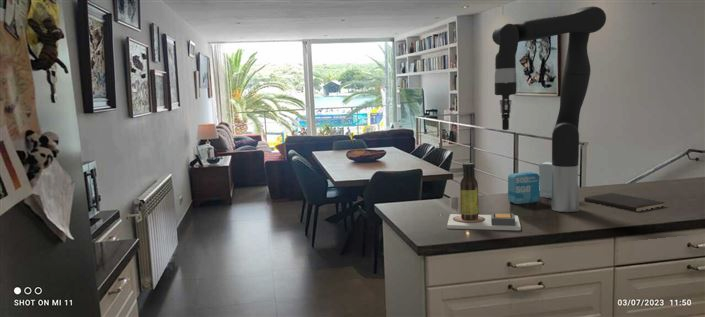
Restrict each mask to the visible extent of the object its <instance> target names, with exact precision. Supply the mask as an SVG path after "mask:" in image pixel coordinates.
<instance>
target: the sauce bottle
mask: <svg viewBox="0 0 705 317" xmlns="http://www.w3.org/2000/svg"><path fill="white" fill-rule="evenodd" d="M462 170H463V171H462V172H463V174H462V176H463V177H462V179H461V180H460V183H459V188H460V189H459V196H460V197H459V199H460V214H461V218H462V219H463V220H475V219H477V218H478V215H479V212H480V211H479V208H480V207H479V184H478V181H477V179H476V177H475V163H474V162H463V163H462Z"/></svg>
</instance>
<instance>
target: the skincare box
mask: <svg viewBox="0 0 705 317" xmlns="http://www.w3.org/2000/svg"><path fill="white" fill-rule="evenodd" d="M538 172H539V173H538V175H539V198H546V199H552V161H550V162H549V161H545V162H541V163H538Z"/></svg>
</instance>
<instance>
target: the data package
mask: <svg viewBox="0 0 705 317" xmlns="http://www.w3.org/2000/svg"><path fill="white" fill-rule="evenodd" d="M507 200H508V202H509V203H512V204H514V205H521V204H529V203H530V204H531V203H537V202H539V200H540V181H539V173H536V172H532V171H529V172H528V171H527V172H516V173H515V172H514V173H510V174H509V175H508V176H507Z"/></svg>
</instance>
